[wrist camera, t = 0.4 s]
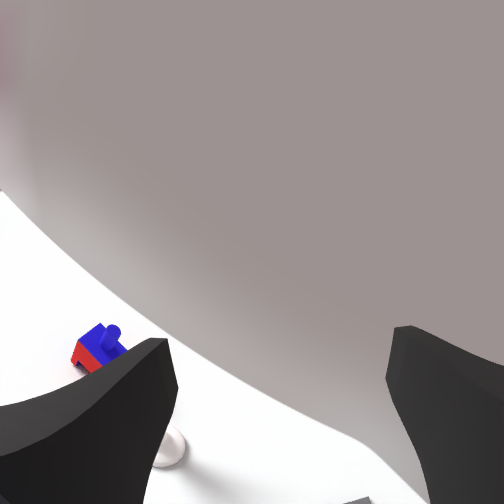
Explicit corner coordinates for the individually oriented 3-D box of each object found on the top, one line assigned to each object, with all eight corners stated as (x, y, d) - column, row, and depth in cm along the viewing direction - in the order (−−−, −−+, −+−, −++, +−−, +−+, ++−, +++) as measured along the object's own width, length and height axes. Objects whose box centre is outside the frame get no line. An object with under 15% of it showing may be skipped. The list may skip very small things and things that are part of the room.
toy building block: (96, 387, 28) (114, 358, 24) (70, 360, 28) (82, 325, 24) (115, 370, 31) (136, 338, 27) (89, 344, 31) (107, 308, 27)
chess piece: (122, 432, 23) (107, 361, 19) (168, 416, 26) (168, 344, 22) (147, 474, 19) (134, 414, 15) (195, 454, 22) (203, 390, 18)
